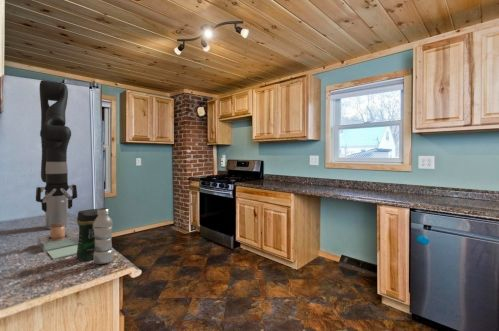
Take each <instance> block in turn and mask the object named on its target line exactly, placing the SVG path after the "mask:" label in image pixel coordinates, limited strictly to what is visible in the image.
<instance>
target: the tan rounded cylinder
mask: <svg viewBox="0 0 499 331" xmlns="http://www.w3.org/2000/svg"><path fill="white" fill-rule="evenodd" d="M50 227H51V229H50V235H51V239H61V238H65V232H66V227H65V223H55V224H51V225H50Z"/></svg>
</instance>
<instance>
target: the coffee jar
mask: <svg viewBox="0 0 499 331" xmlns="http://www.w3.org/2000/svg"><path fill="white" fill-rule="evenodd" d="M100 208H101V207H100ZM100 208H93V209H92V208H91V209H85V210H79V211H78V213H77V218H76V224H77V226H78V245H77V246H78V248H77V254H76V258H77V259H78V260H79V261H90V260H93V254H94V248H95V237H94V230H93V222H94V220H95V219H96V217H97V216H98V215H97V209H100Z"/></svg>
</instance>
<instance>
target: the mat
mask: <svg viewBox="0 0 499 331" xmlns="http://www.w3.org/2000/svg"><path fill="white" fill-rule="evenodd" d="M77 248H78V245H75V246H70V247H65V248H61V249H56V250H51V251H47V252H46V253H47V254H48V255H49V256H50V258H51V259H52V260H56V259H62V258H65V257H71V256H75V255H77Z"/></svg>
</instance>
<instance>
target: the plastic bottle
mask: <svg viewBox="0 0 499 331" xmlns="http://www.w3.org/2000/svg"><path fill="white" fill-rule="evenodd" d="M96 209H97V215H98V216H97V217H96V219H95V220H94V222H93V230H94V237H95V248H94V254H93V259H92V260H93V262H94V263H95V264H97V265H103V264H104V265H105V264H108V263H111V262H112V261H113V259H114V250H113V243H112V233H113V225H114V223H113V222H114V221H113V219H112V218H111V217H110V216H109V214H110V212H109V211H110V210H109V208H108V207H100V209H99V208H96Z"/></svg>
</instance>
